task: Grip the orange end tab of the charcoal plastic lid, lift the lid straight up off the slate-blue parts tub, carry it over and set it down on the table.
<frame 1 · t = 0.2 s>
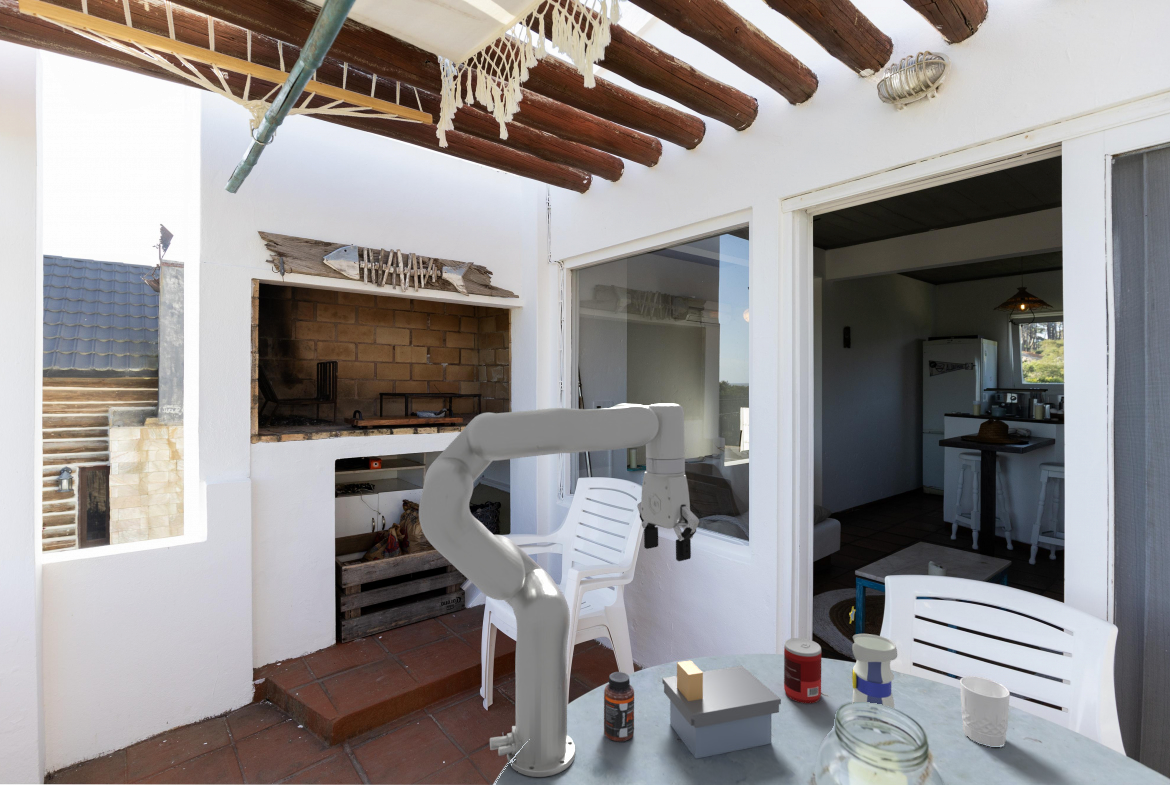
hand: (666, 553, 110), 36 cm above the table, tool pointing down, fingers open, 9 cm apart
canned food: (802, 695, 125), on the table
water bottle: (872, 742, 108), on the table
lid: (719, 693, 111), point 8 cm above the table, touching tub
tub: (719, 733, 111), on the table
supplement bottle: (619, 734, 111), on the table
white cup: (984, 738, 110), on the table
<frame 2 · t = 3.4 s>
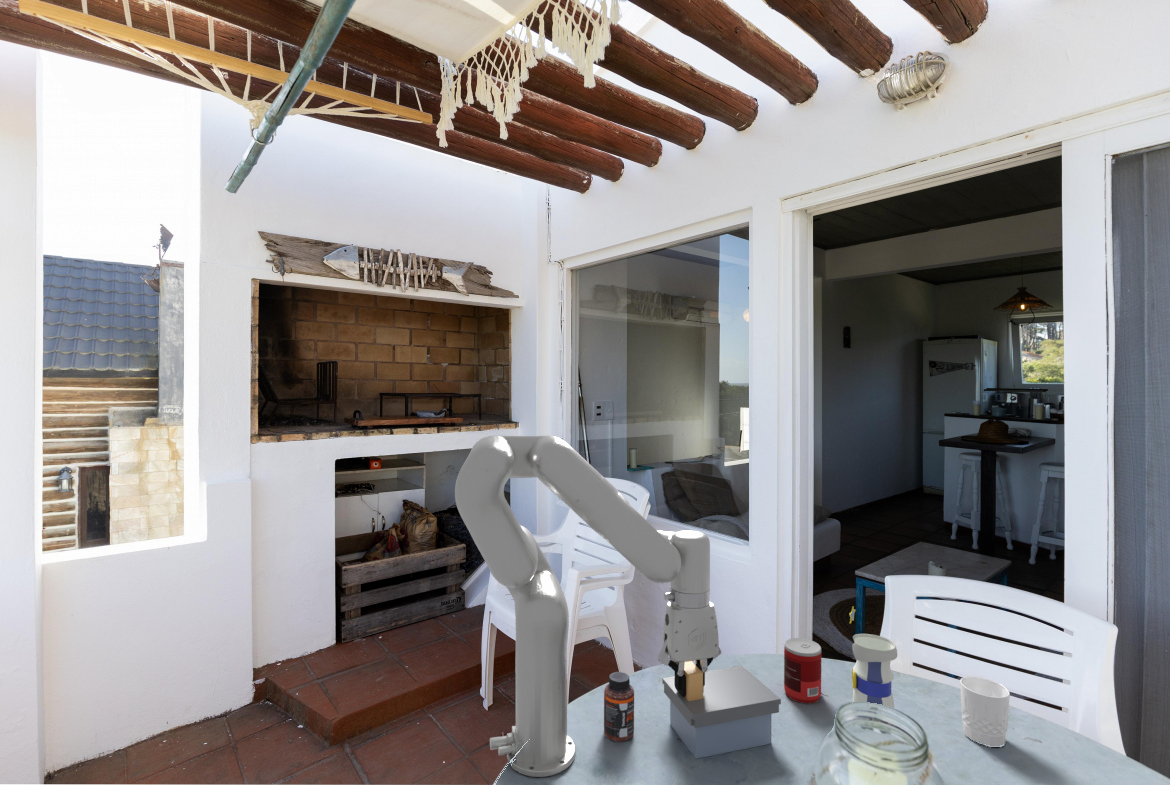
hand: (689, 690, 109), 10 cm above the table, tool pointing down, fingers closed on lid, 3 cm apart
lid: (719, 693, 111), point 8 cm above the table, touching gripper, tub
everything else where it was.
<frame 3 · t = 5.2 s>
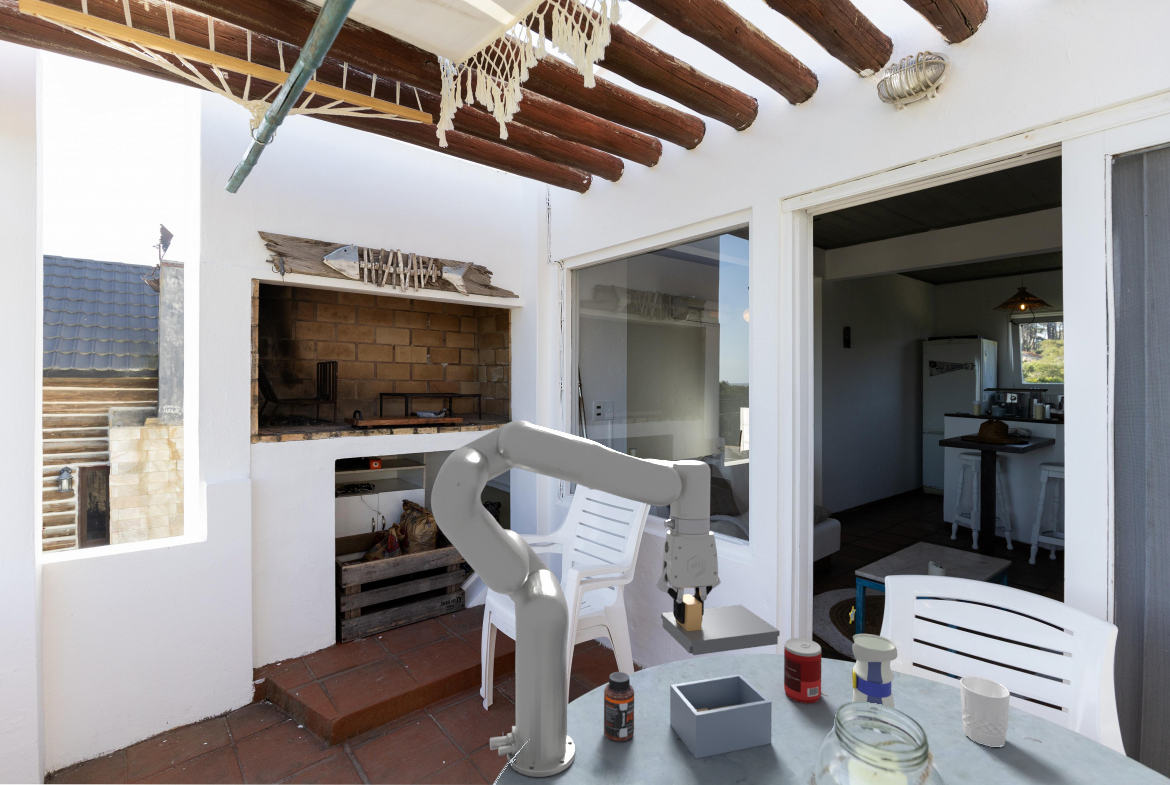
hand: (688, 619, 109), 23 cm above the table, tool pointing down, fingers closed on lid, 3 cm apart
lid: (718, 626, 110), point 21 cm above the table, touching gripper
everything else where it was.
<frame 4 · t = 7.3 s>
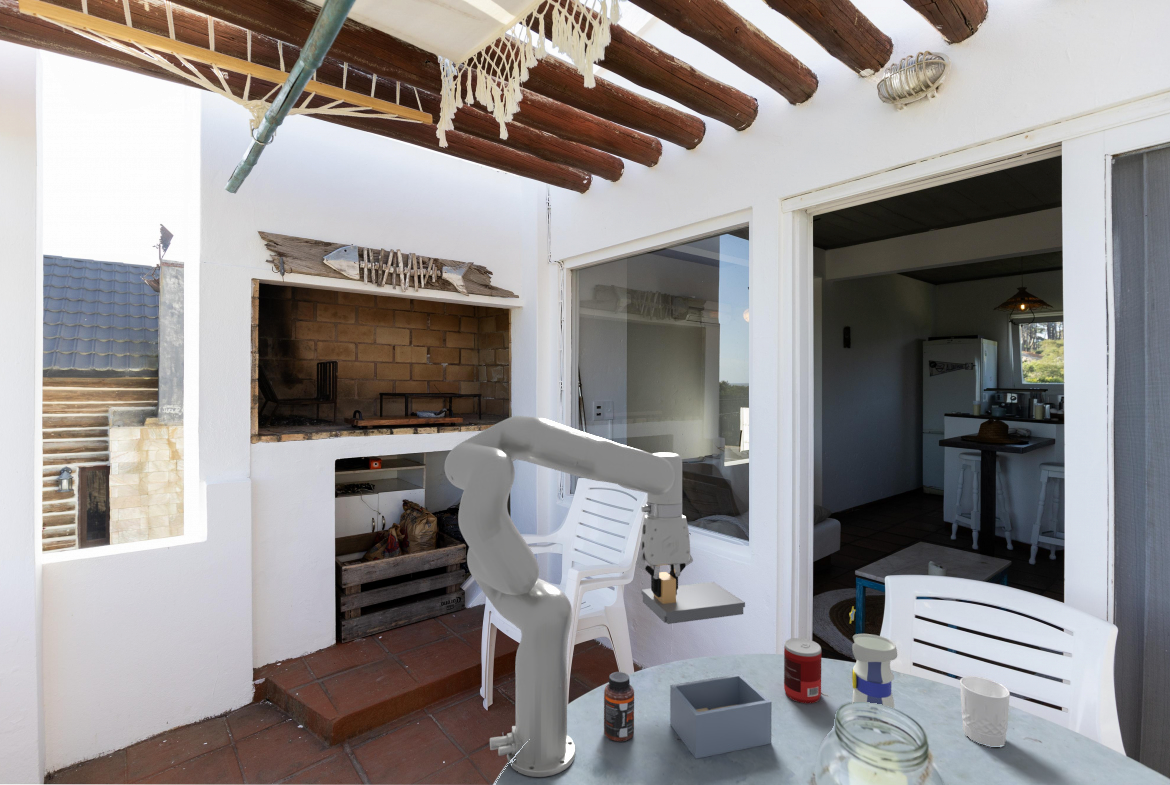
hand: (664, 593, 122), 23 cm above the table, tool pointing down, fingers closed on lid, 3 cm apart
lid: (691, 600, 124), point 21 cm above the table, touching gripper
everything else where it was.
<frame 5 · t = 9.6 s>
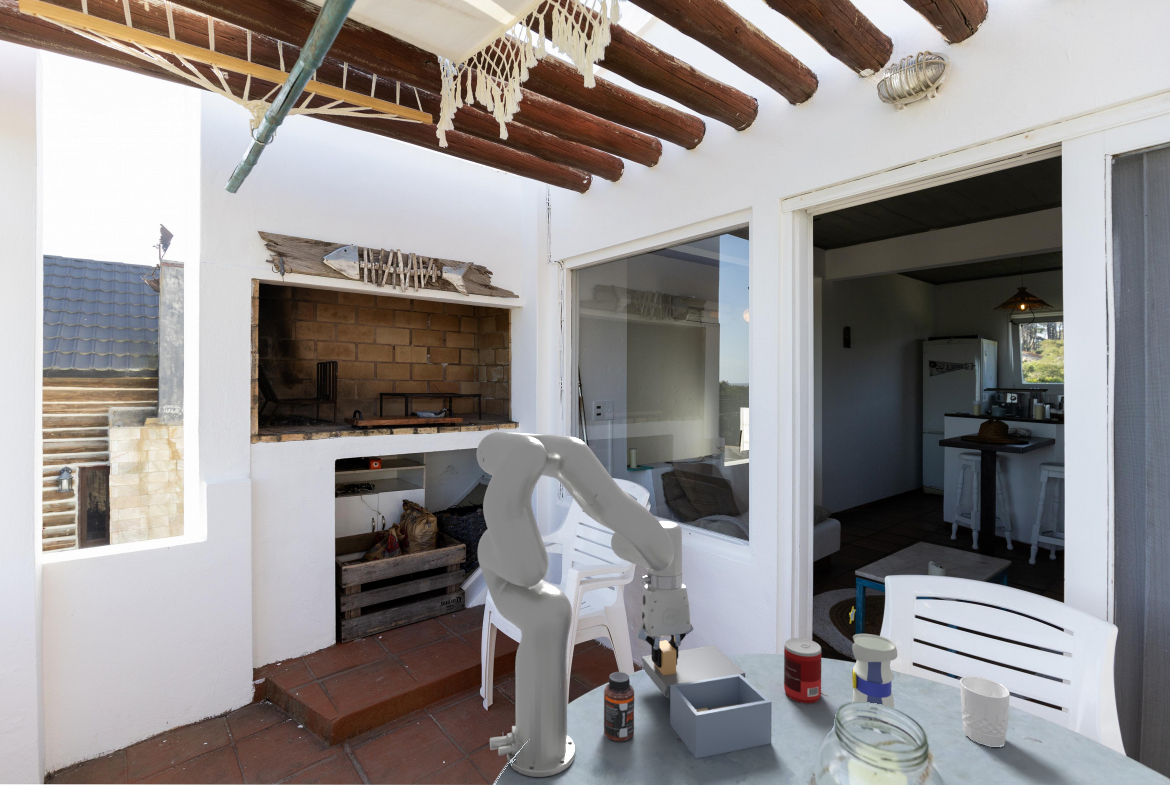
hand: (665, 662, 123), 8 cm above the table, tool pointing down, fingers closed on lid, 3 cm apart
lid: (692, 668, 124), point 6 cm above the table, touching gripper
everything else where it was.
when the fingers open (4 cm above the table, at t = 11.2 s): lid stays where it is, point 1 cm above the table.
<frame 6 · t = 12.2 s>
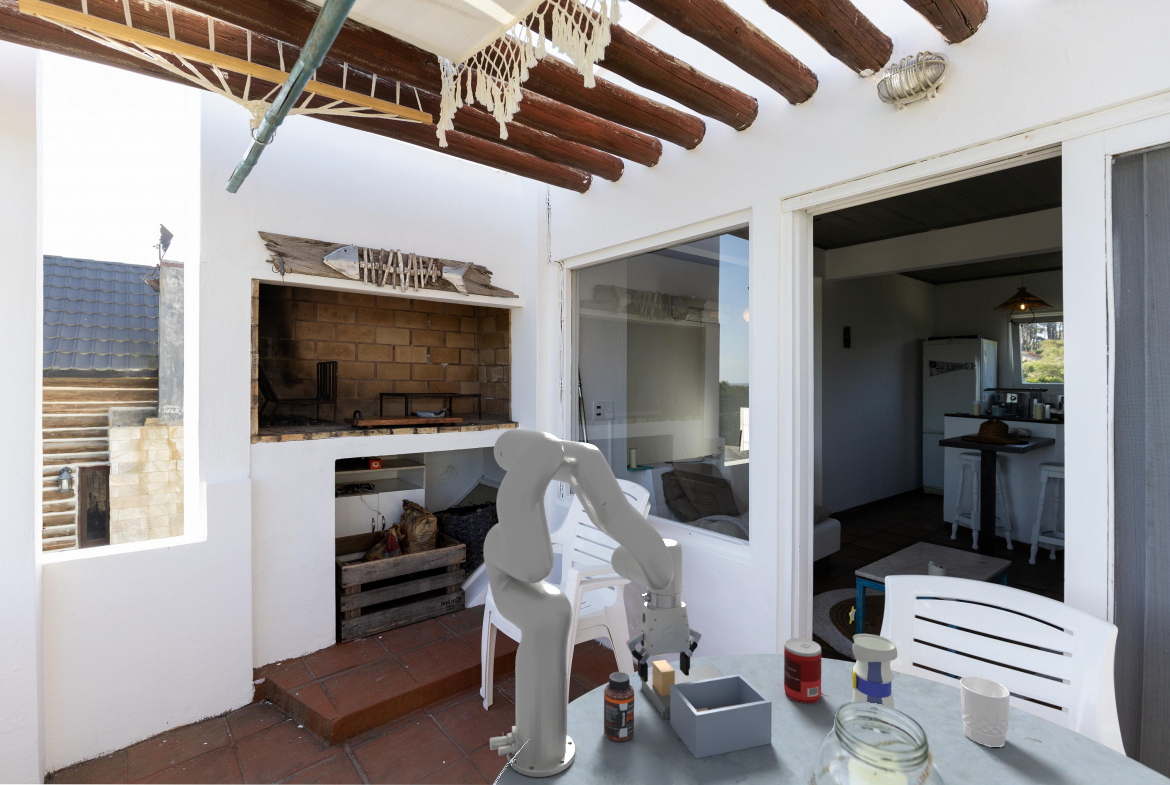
hand: (664, 675, 122), 5 cm above the table, tool pointing down, fingers open, 9 cm apart
lid: (690, 689, 124), point 1 cm above the table
everything else where it was.
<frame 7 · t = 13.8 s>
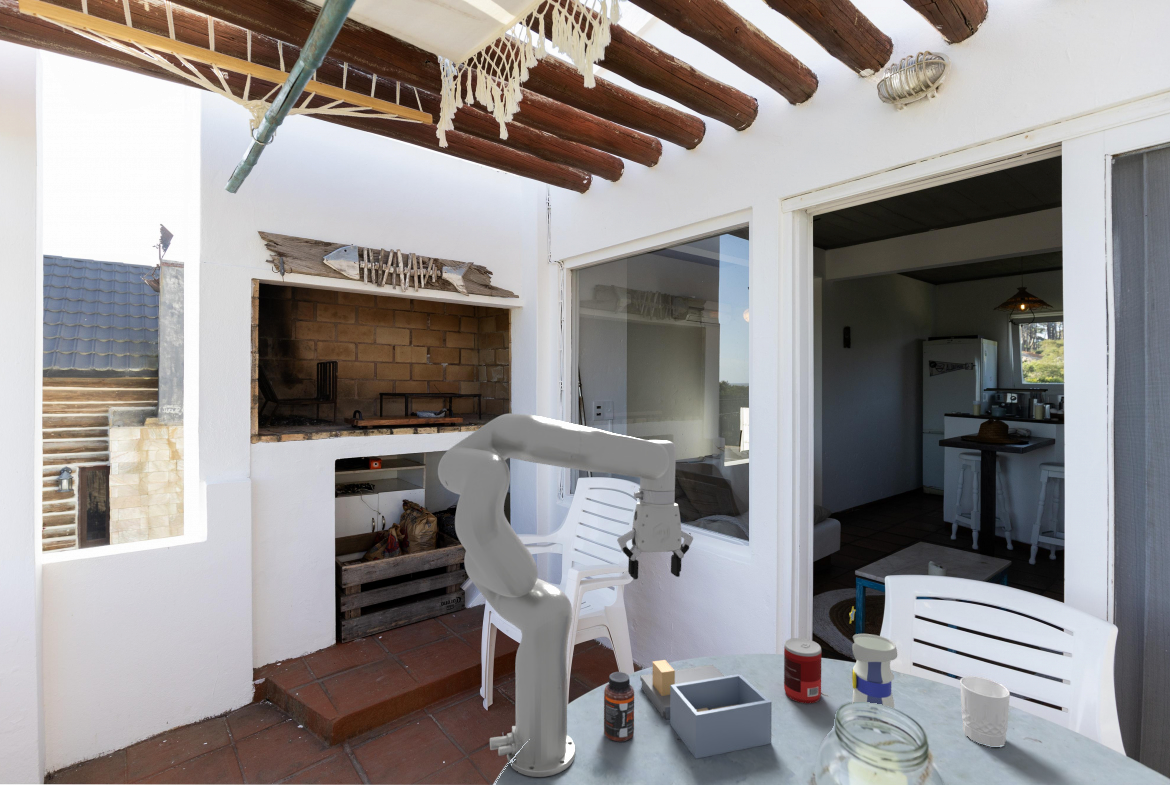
hand: (654, 576, 122), 27 cm above the table, tool pointing down, fingers open, 9 cm apart
nothing on the table moved.
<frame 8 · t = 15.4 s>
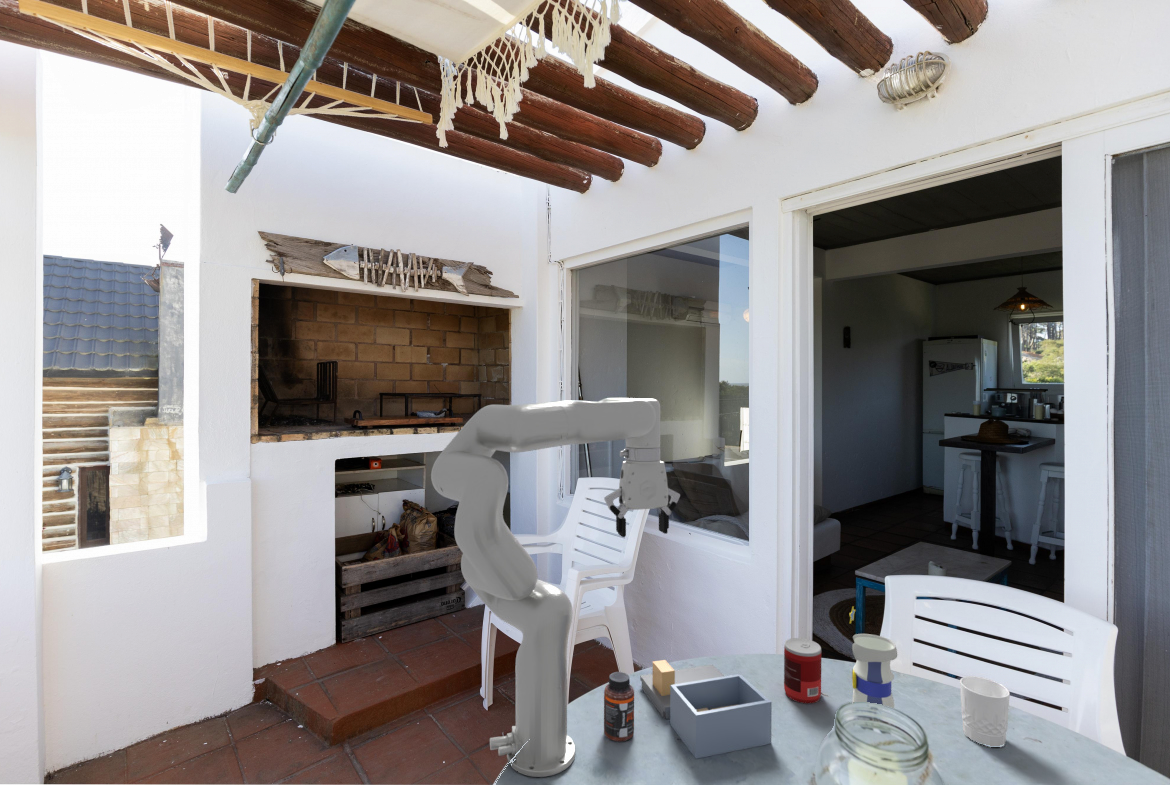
hand: (642, 533, 122), 36 cm above the table, tool pointing down, fingers open, 9 cm apart
nothing on the table moved.
at the end: lid inside the target area (0.2 cm from its centre), point 1.5 cm above the table; lid touching table; the gripper is holding nothing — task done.
